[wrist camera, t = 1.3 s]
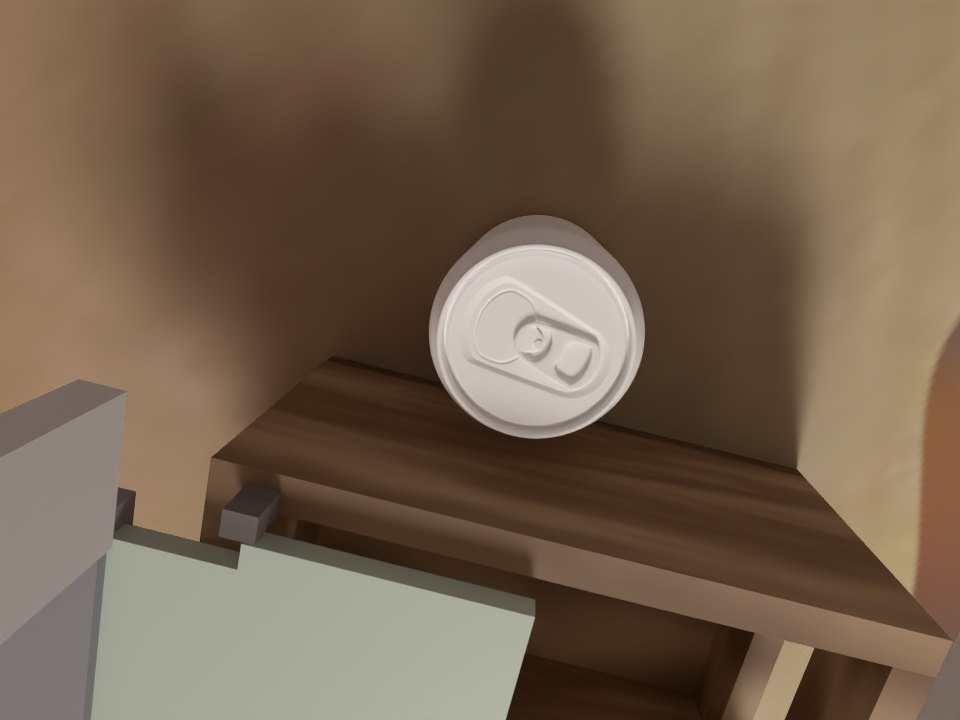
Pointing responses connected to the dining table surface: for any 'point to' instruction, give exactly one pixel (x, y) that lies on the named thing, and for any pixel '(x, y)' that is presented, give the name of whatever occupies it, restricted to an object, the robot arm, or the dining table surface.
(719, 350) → the dining table surface
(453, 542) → the crate
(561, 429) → the beverage can
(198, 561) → the lid
